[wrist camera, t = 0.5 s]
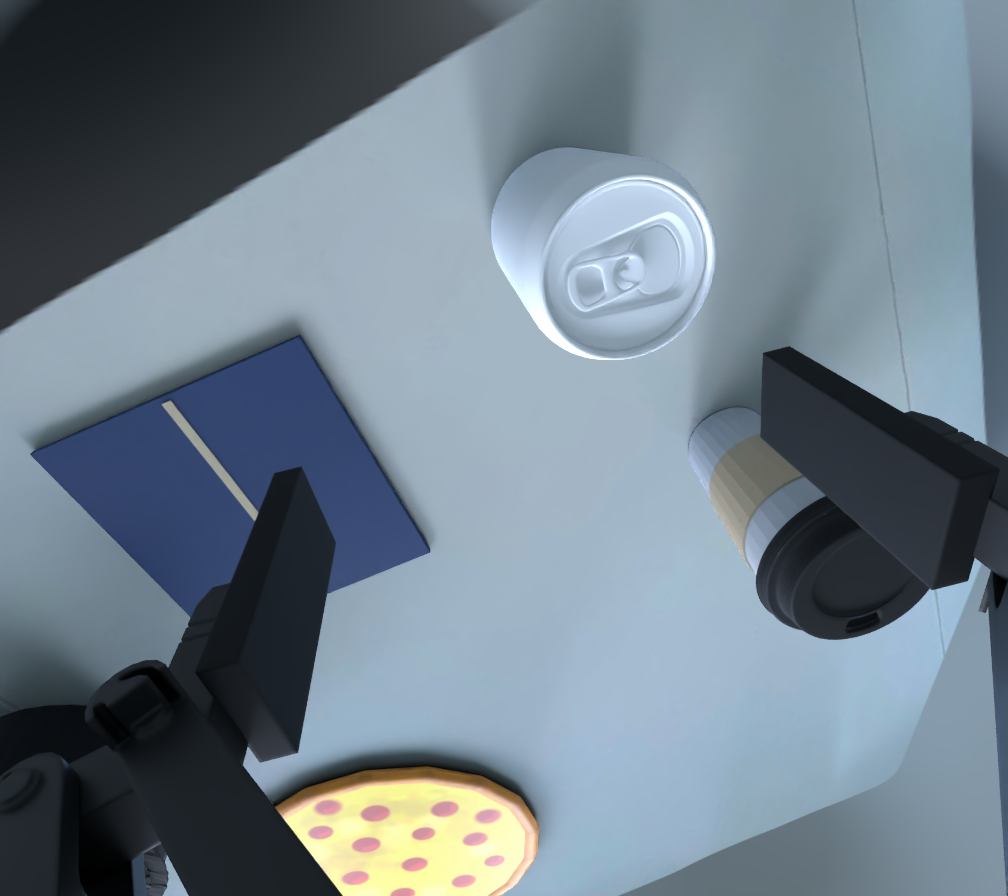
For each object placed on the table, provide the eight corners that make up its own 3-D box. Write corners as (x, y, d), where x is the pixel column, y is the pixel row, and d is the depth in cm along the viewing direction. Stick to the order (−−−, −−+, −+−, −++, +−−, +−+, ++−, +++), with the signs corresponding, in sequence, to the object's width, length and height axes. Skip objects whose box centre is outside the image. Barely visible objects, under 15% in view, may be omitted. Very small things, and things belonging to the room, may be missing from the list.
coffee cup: (707, 516, 45) (826, 675, 32) (637, 445, 41) (742, 594, 28) (810, 438, 43) (983, 574, 30) (747, 354, 38) (917, 470, 26)
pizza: (164, 870, 58) (160, 883, 57) (412, 718, 52) (412, 730, 51) (380, 952, 72) (380, 963, 71) (592, 842, 66) (594, 852, 65)
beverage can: (639, 272, 35) (736, 335, 24) (511, 315, 35) (555, 396, 25) (614, 125, 31) (718, 126, 20) (470, 175, 31) (501, 200, 20)
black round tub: (245, 760, 51) (189, 974, 38) (117, 852, 55) (27, 1074, 42) (41, 665, 43) (-118, 897, 30) (-93, 781, 47) (-285, 1031, 34)
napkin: (33, 451, 35) (28, 455, 34) (300, 334, 34) (298, 337, 33) (214, 636, 44) (212, 640, 43) (430, 549, 43) (430, 553, 42)
